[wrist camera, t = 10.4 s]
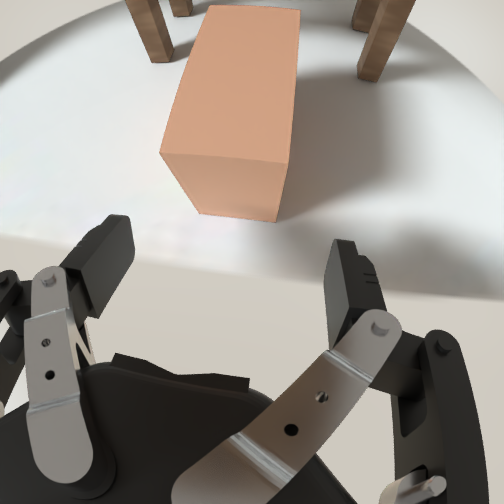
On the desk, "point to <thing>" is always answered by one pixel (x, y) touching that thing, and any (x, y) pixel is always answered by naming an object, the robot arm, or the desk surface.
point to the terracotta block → (236, 112)
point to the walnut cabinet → (364, 19)
